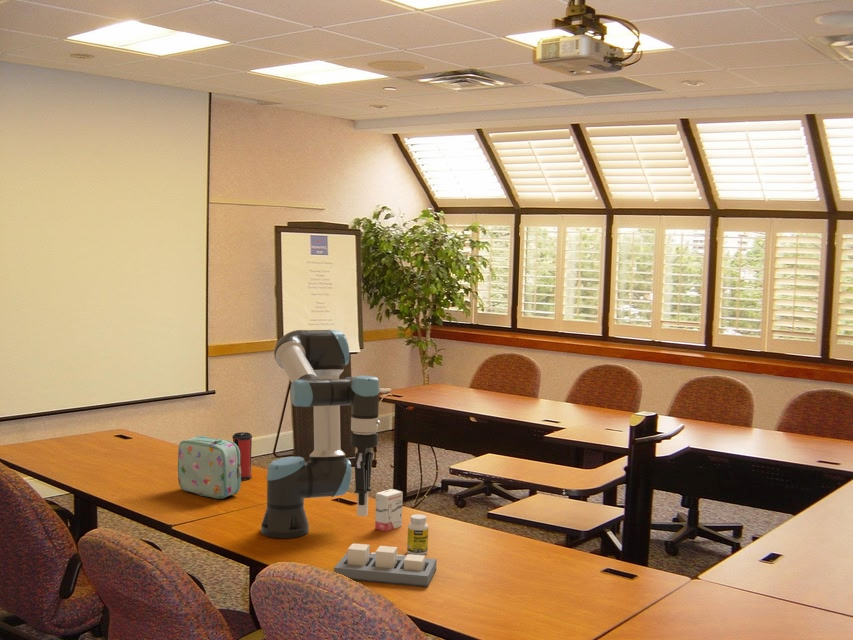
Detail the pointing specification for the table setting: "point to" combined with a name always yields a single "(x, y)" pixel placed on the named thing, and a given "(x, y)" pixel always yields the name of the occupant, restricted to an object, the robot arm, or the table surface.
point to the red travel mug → (244, 453)
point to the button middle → (386, 557)
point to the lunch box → (209, 467)
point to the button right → (414, 562)
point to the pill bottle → (417, 535)
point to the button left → (358, 554)
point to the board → (387, 572)
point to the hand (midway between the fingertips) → (362, 515)
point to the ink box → (388, 510)
